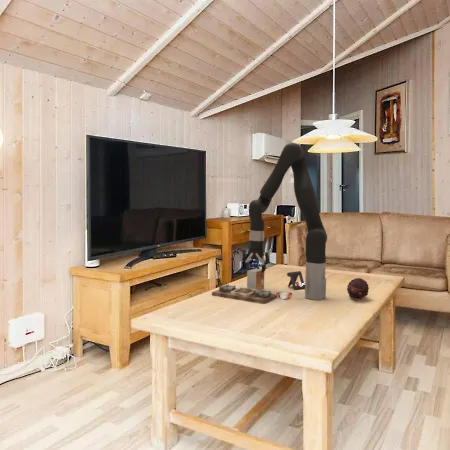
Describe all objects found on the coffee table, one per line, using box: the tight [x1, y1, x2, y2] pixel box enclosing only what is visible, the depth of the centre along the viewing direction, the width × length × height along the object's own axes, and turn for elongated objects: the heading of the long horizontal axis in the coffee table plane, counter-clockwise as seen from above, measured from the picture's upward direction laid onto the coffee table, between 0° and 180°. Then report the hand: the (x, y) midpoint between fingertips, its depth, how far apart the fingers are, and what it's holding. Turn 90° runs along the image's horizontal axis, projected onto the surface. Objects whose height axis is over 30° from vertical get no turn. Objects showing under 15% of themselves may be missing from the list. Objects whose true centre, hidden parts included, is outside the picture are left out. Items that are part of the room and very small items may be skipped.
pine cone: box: [346, 277, 370, 300], centre depth 204 cm, size 18×10×10 cm, turn 161°
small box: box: [246, 268, 265, 290], centre depth 216 cm, size 8×6×10 cm
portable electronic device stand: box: [286, 270, 305, 291], centre depth 224 cm, size 9×8×8 cm
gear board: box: [211, 283, 278, 305], centre depth 204 cm, size 28×14×4 cm, turn 60°
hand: (255, 271), depth 216 cm, fingers open, 8 cm apart
